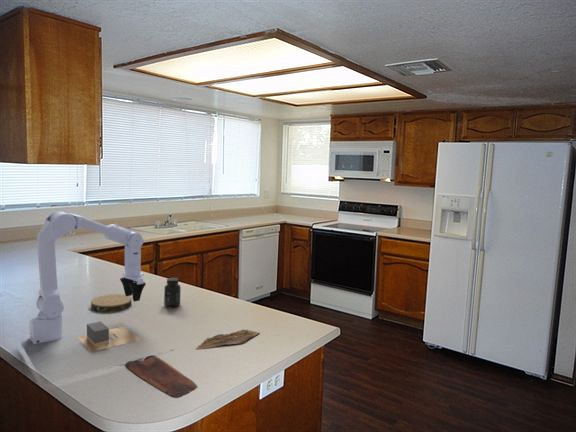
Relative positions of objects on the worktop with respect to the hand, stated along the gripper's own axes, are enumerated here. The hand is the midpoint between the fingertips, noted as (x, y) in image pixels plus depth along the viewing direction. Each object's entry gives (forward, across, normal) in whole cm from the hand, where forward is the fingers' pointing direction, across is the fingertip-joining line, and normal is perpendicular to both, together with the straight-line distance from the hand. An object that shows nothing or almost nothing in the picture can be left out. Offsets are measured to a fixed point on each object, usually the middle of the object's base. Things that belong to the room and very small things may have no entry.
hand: (132, 298), depth 159 cm
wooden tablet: (+11, -44, +9) cm, 46 cm away
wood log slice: (+11, +25, -1) cm, 27 cm away
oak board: (+10, -12, +13) cm, 20 cm away
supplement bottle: (+10, +11, -22) cm, 27 cm away
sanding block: (+9, -12, +16) cm, 22 cm away
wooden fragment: (+11, -34, -21) cm, 41 cm away
